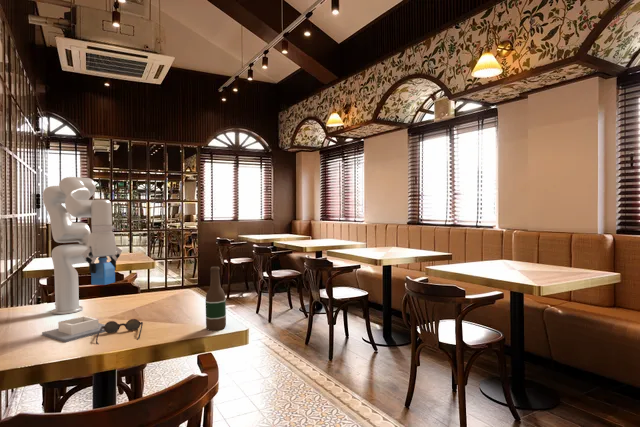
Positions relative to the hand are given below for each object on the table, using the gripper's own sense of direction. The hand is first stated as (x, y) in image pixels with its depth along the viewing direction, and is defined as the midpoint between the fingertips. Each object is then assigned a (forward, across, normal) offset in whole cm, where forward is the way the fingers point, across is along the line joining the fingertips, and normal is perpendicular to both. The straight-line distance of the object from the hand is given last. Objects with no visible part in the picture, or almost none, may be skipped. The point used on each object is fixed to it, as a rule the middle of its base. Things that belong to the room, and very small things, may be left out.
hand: (103, 271), depth 168 cm
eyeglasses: (+23, +7, +23) cm, 33 cm away
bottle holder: (+22, +12, +2) cm, 25 cm away
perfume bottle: (+5, 0, 0) cm, 5 cm away
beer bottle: (+22, -17, +47) cm, 55 cm away
